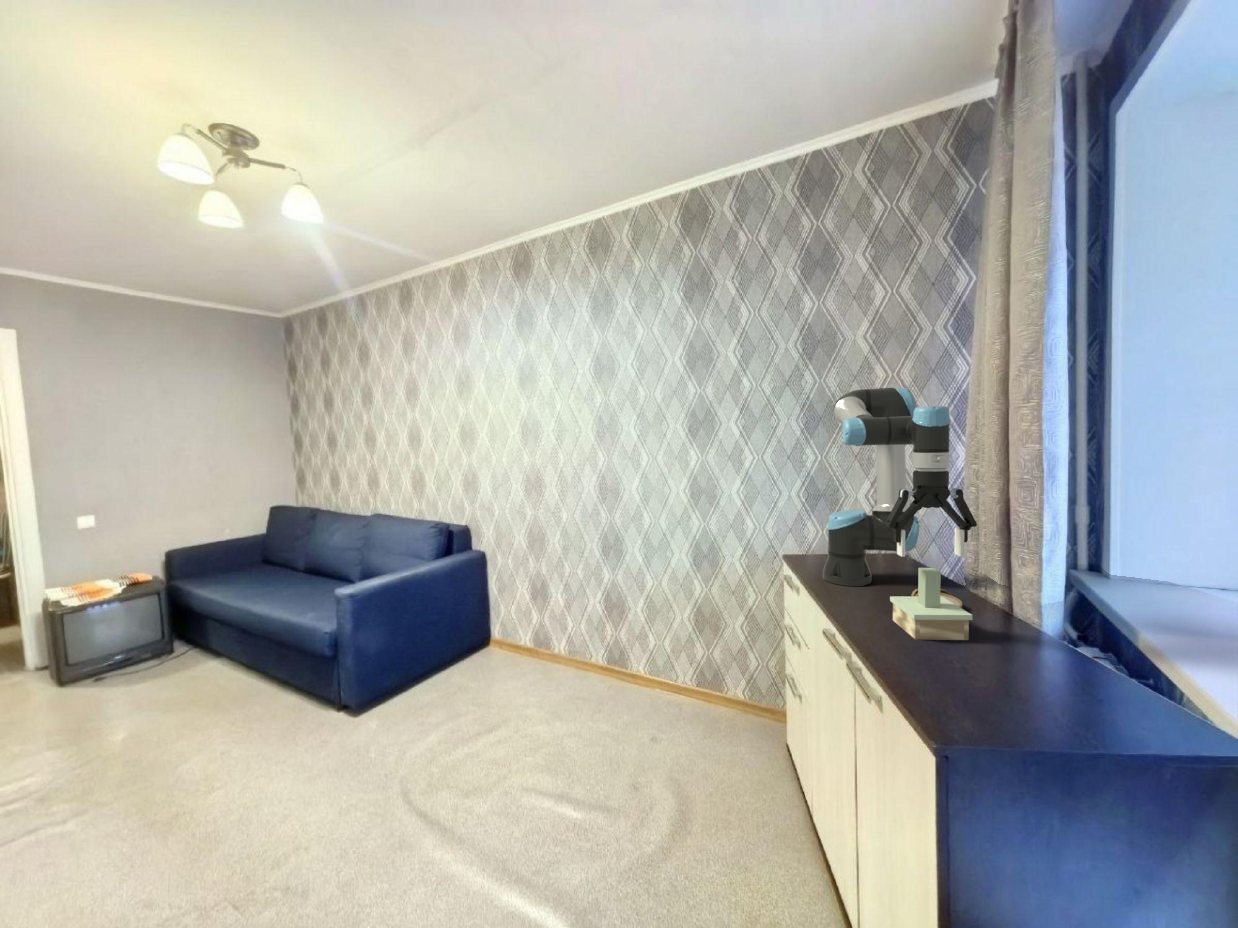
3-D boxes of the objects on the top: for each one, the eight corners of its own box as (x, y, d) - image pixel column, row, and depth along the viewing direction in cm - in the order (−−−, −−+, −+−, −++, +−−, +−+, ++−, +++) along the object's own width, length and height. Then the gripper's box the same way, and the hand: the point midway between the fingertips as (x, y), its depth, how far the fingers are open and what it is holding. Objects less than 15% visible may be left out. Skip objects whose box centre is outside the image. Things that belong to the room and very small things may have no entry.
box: (892, 623, 131) (892, 601, 131) (940, 624, 130) (941, 601, 130) (915, 643, 119) (915, 618, 119) (968, 643, 118) (968, 619, 118)
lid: (890, 600, 132) (890, 562, 131) (942, 600, 130) (942, 562, 130) (914, 619, 119) (914, 577, 118) (972, 619, 117) (973, 577, 117)
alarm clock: (923, 607, 135) (905, 581, 149) (922, 623, 136) (904, 596, 150) (970, 609, 132) (947, 582, 146) (968, 626, 133) (945, 598, 148)
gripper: (883, 471, 119) (883, 559, 121) (995, 469, 117) (993, 558, 118) (871, 469, 127) (871, 551, 128) (975, 467, 124) (974, 551, 126)
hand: (929, 555), depth 123 cm, fingers open, 13 cm apart
